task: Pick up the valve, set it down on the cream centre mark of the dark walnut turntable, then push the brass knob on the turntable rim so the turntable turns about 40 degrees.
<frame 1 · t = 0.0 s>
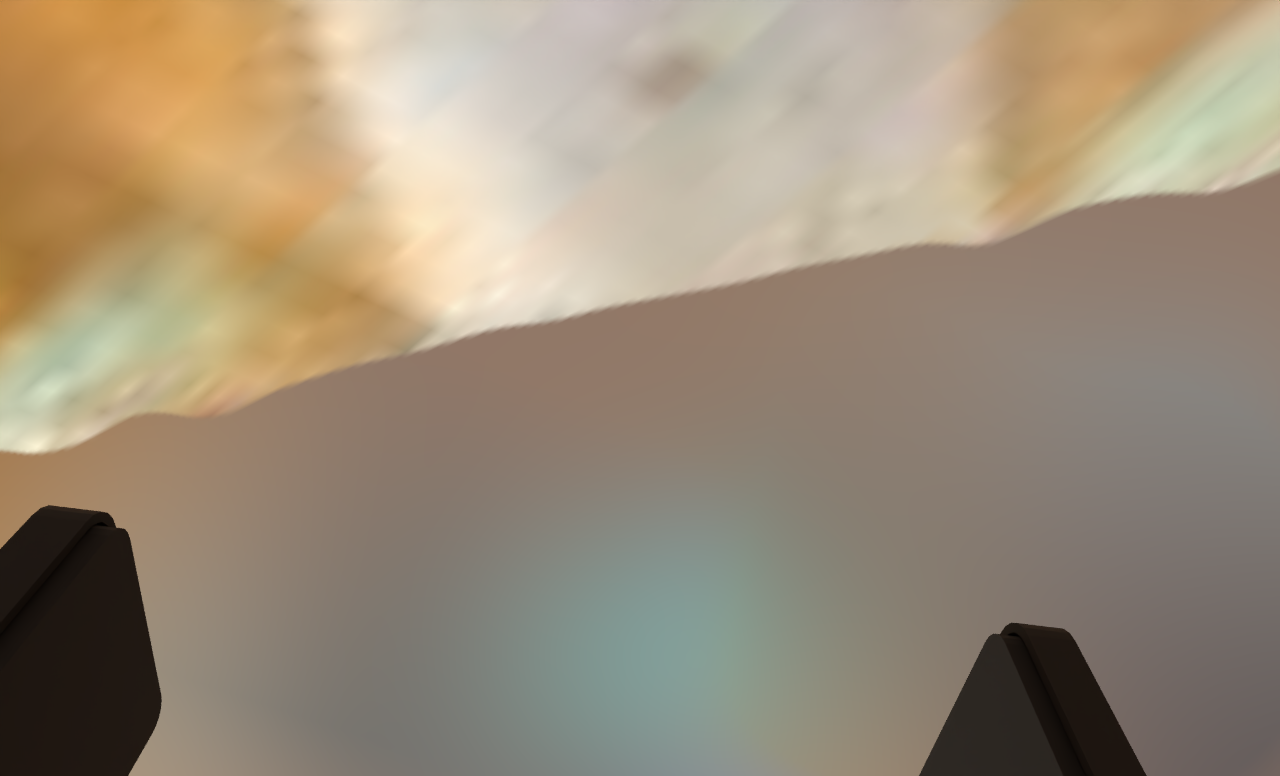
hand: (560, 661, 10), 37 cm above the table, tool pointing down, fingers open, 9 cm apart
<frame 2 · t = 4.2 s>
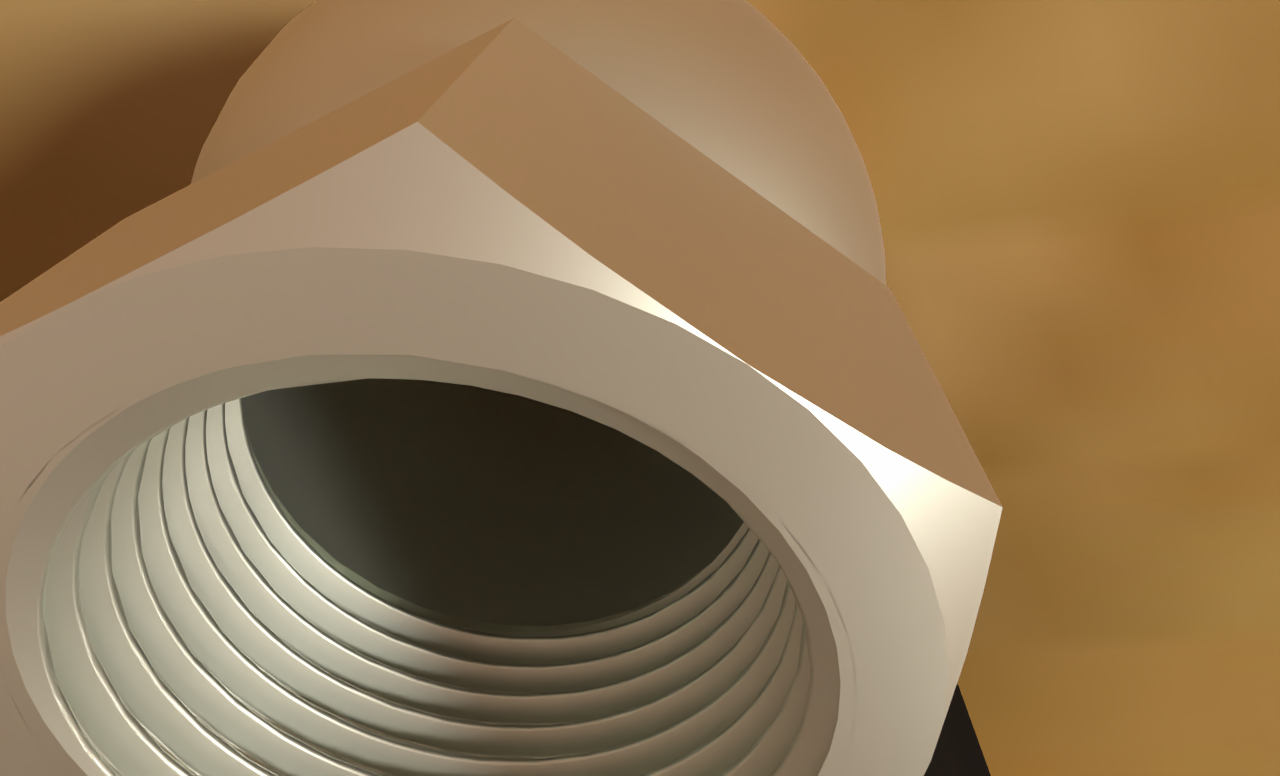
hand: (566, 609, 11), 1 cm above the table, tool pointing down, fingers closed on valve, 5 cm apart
valve: (570, 462, 11), on the table, touching gripper
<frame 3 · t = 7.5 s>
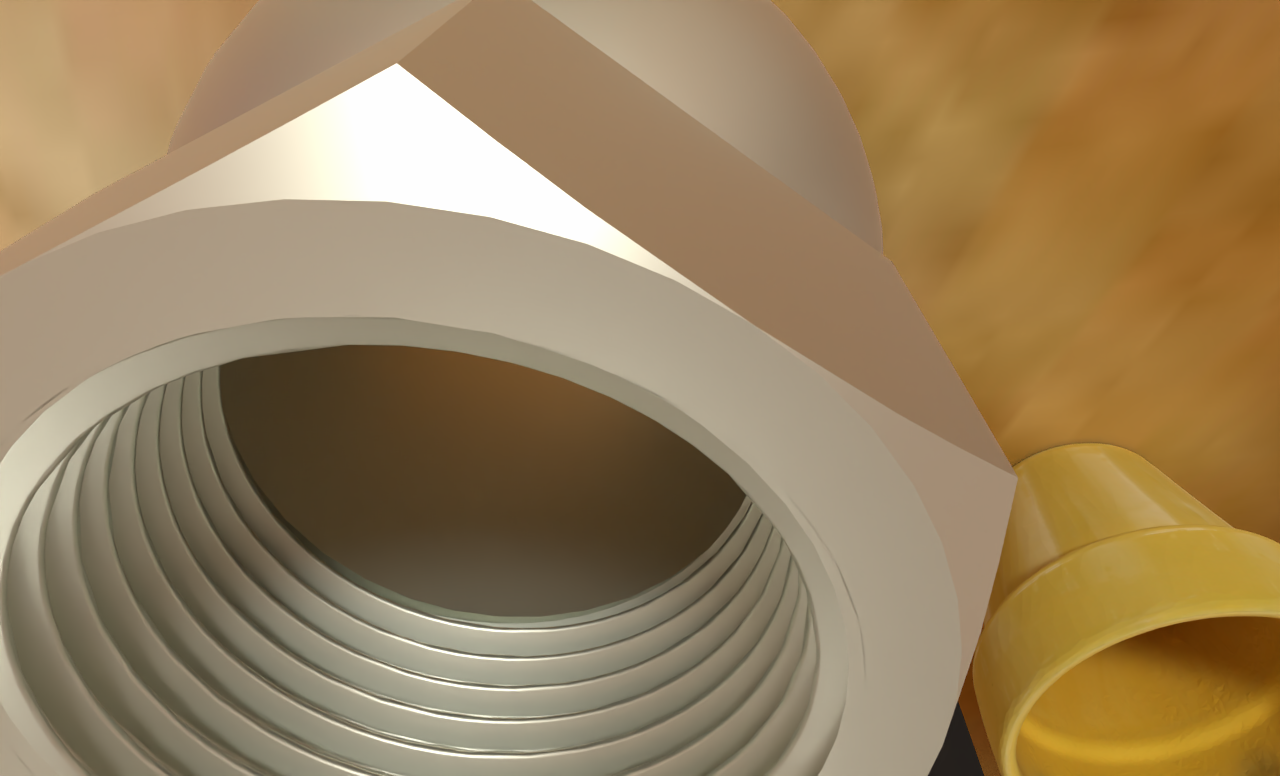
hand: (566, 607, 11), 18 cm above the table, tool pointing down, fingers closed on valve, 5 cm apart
valve: (561, 454, 11), point 17 cm above the table, touching gripper
plant pot: (1061, 510, 33), on the table
when the fingers open (5 cm above the table, at t = 10.8 s): valve drops 2 cm, resting on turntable.
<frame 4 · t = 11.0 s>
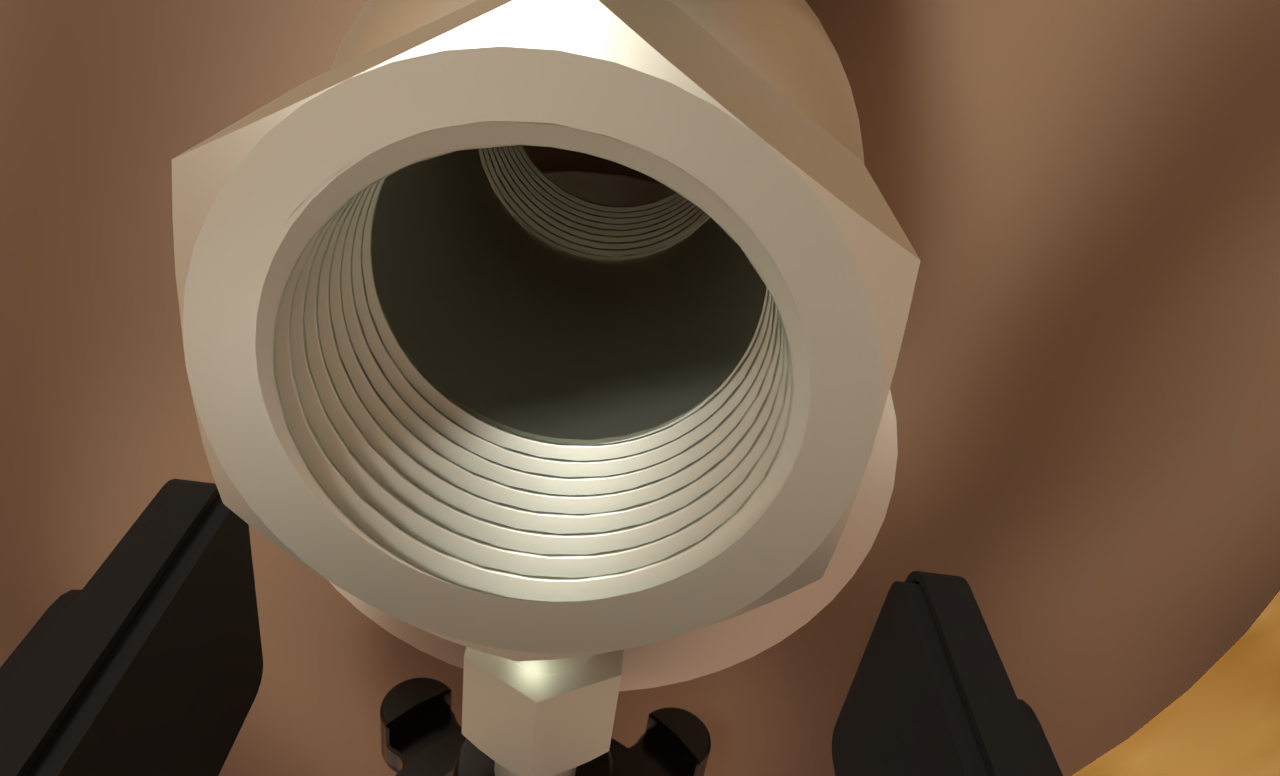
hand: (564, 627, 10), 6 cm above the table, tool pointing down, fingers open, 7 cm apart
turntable: (571, 555, 11), point 4 cm above the table, hinge at 0.0°, touching valve
valve: (588, 383, 12), point 3 cm above the table, touching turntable
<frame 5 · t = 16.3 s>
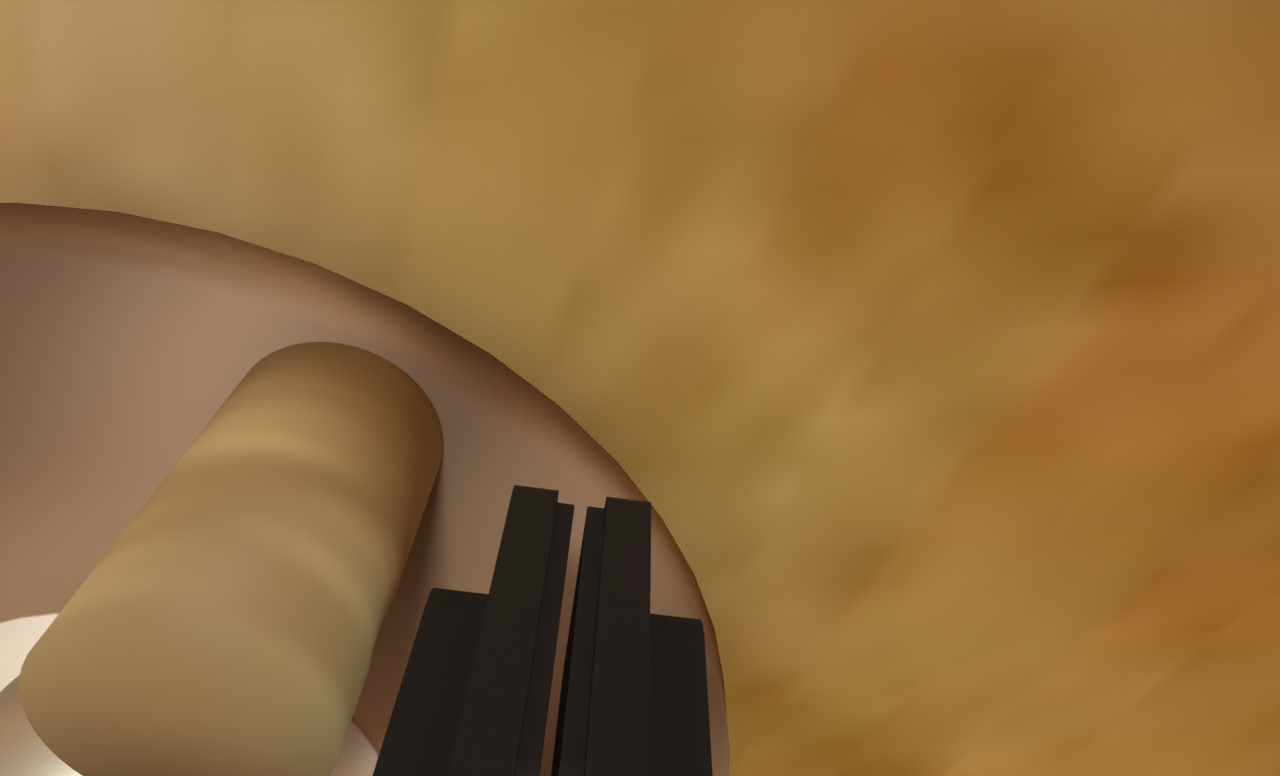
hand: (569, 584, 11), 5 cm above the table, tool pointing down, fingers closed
valve: (179, 731, 16), point 3 cm above the table, touching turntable
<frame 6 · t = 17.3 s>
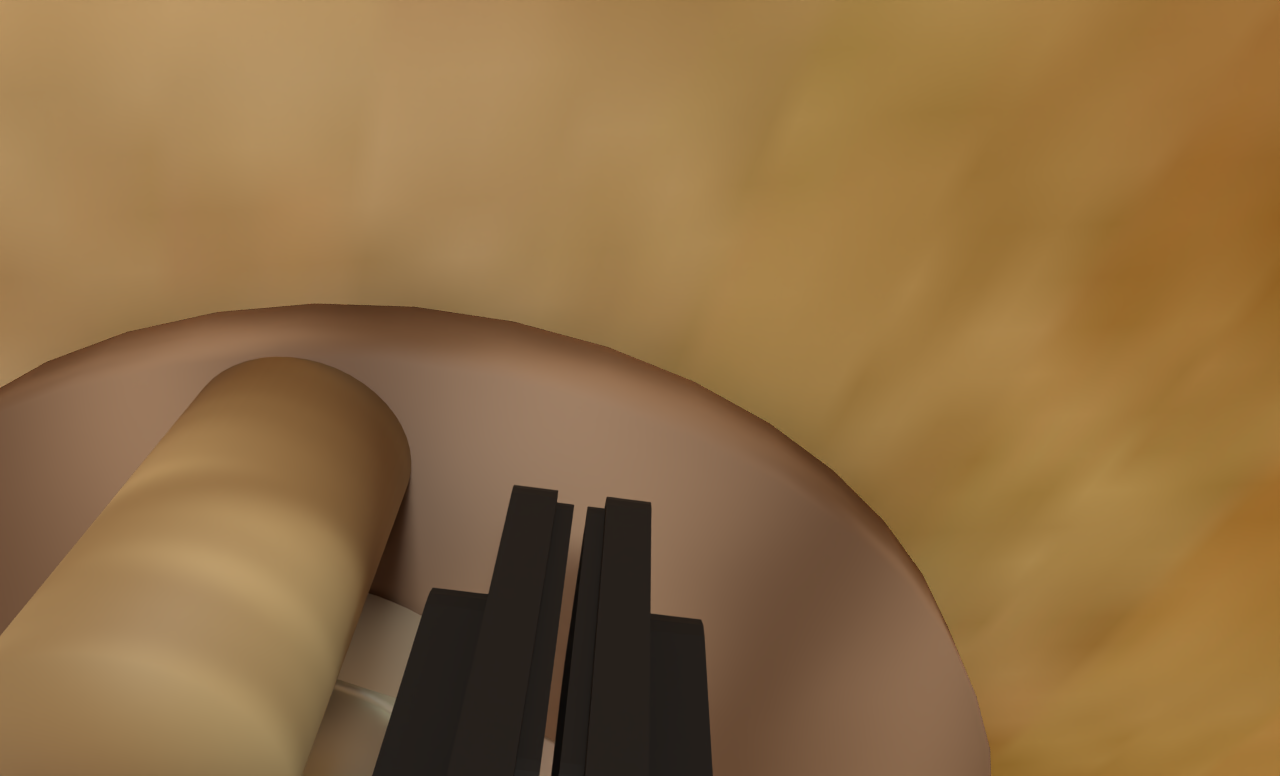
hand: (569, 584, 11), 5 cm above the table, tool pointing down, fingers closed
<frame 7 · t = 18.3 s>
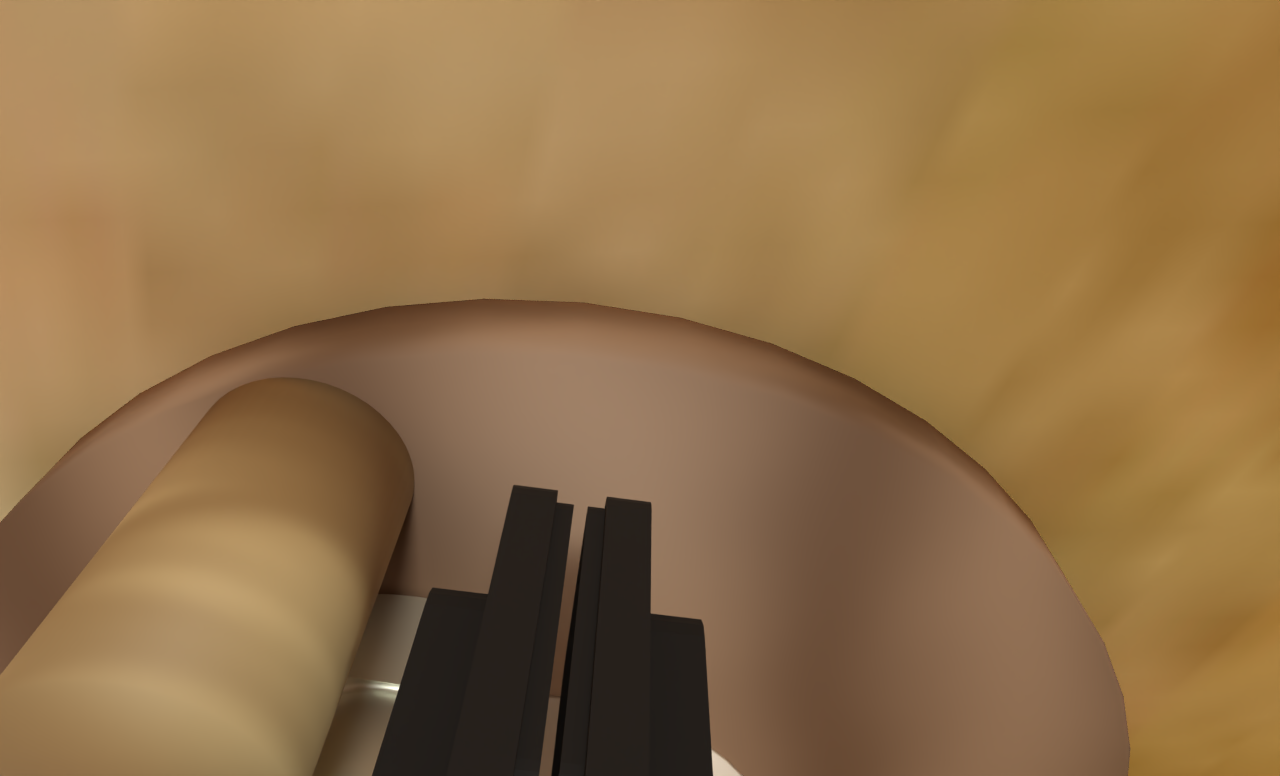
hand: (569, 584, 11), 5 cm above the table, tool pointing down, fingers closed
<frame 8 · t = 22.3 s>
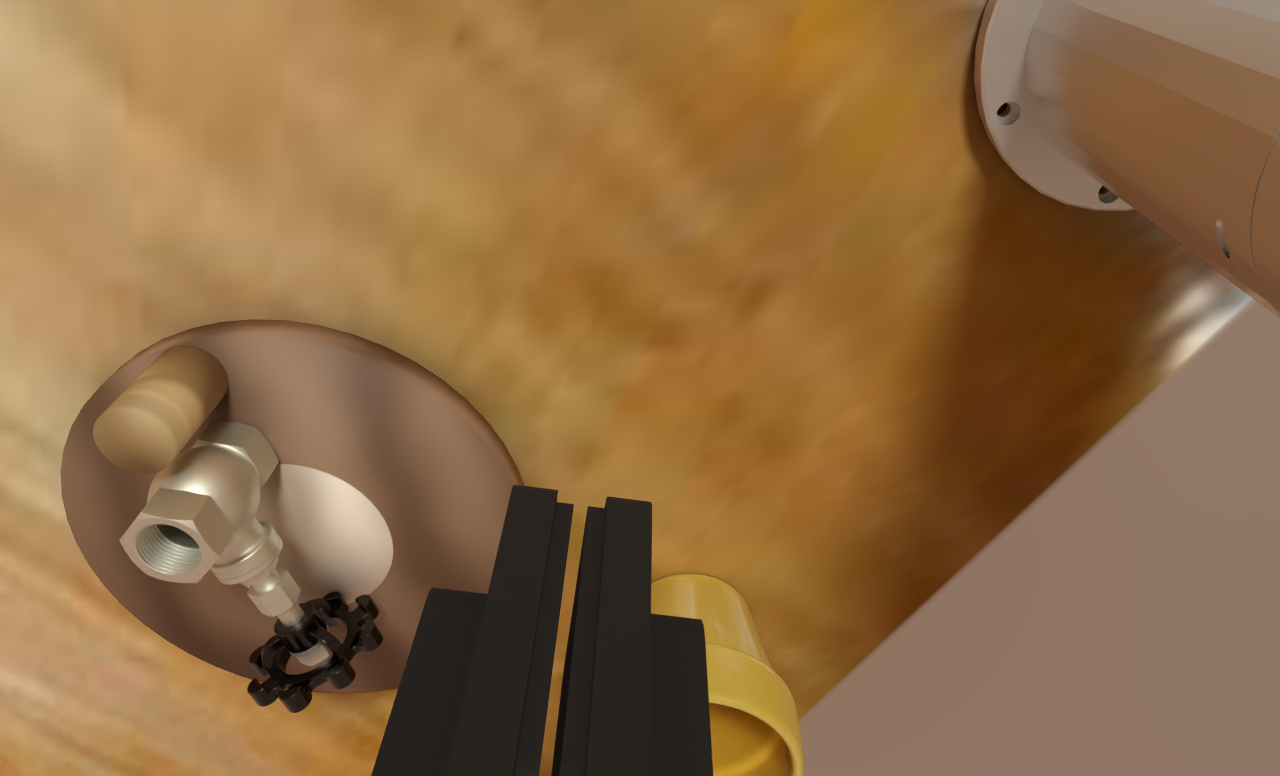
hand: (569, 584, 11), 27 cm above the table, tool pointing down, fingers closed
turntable: (286, 563, 41), point 4 cm above the table, hinge at 50.4°, touching valve
valve: (283, 513, 42), point 3 cm above the table, touching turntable
plant pot: (686, 614, 49), on the table
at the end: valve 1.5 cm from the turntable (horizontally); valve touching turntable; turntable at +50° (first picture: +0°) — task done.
